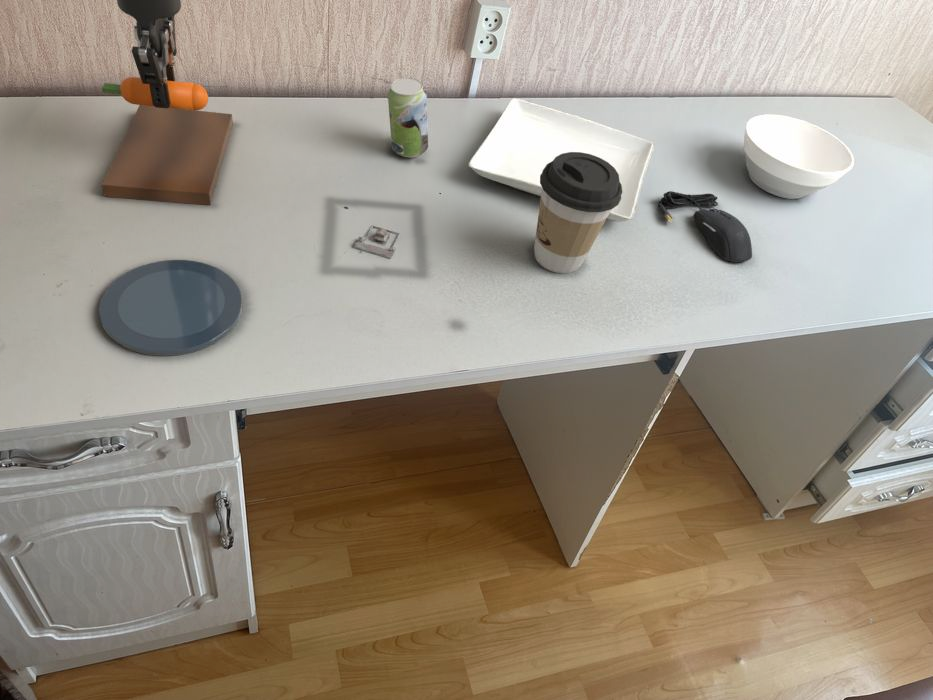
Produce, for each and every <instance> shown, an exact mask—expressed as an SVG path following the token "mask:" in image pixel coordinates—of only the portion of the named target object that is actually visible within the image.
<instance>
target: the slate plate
mask: <svg viewBox="0 0 933 700" xmlns="http://www.w3.org/2000/svg"><path fill="white" fill-rule="evenodd" d="M242 312H243V296H242V293H241V289H240V288H239V286H238V284H237V282H236V281H234V279H233V278H232V277H231V276H230V275H229V274H227V273H226V272H225V271H224V270H221V269H219V268H218V267H216V266H213V265H210V264H208V263H204V262H201V261H196V260H188V259H187V260H186V259H168V260H159V261H154V262H149V263H147V264H146V263H145V264H143V265H141V266H138V267H135V268H133V269H131V270H129V271H126V272H125V273H124V274H122V275H120V276H119V277H118V278H116V279H115V280H114V281H112V283H110V285H109V286H107V289H105V291H104V292H103V294H102V296H101V299H100V302H99V308H98V315H99V319H100V322H101V325H102V328H103V331H104V332H105V333H106V335H108V336H109V338H110V339H112V341H114V342H115V343H116V344H118V345H119V346H121V347H123V348H125V349H127V350H130V351H132V352H135V353H138V354H143V355H148V356H155V357H157V356H158V357H173V356H181V355H186V354H190V353H195V352H198V351H201V350H203V349H207V348H208V347H210V346H212V345H214V344H216V343H218V342H219V341H221V340H222V339H223V338H225V337H226V336H227V335H229V334H230V332H231V331H232V330H234V329H235V327H236V326H237V324H238V322H239V321H240V318H241V315H242Z"/></svg>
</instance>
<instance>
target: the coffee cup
mask: <svg viewBox="0 0 933 700" xmlns="http://www.w3.org/2000/svg"><path fill="white" fill-rule="evenodd" d="M540 184H541V186H542V193H541V197H540V201H539V207H538V208H539V209H538V216H537V223H536V229H535V230H536V231H535V238H534V245H533V252H534V258H535V260H536V262H537V263H538V264H539V265H540V266H541V267H542V268H543V269H545V270H547V271H550V272H552V273H555V274H570V273H574V272H576V271H577V270H578V269H579V268H580V266H582V265H583V263H584V261H585V260H586V257H587V256H588V254H589V252H590V250H591V249H592V246H593V245H594V243H595V242H596V239H597V237H598V235H599V234H600V232H601V230H602V229H603V226H604V224H605V223H606V220H607V219H608V218H607V217H608V215H609V213H610V211H611V210H612V209H613V208H614V207H616V206H617V205H618V204H619V202H620V200H621V195H622V185H621V183H620V180H619V174H618V173H617V171H616V169H615V168H614V167H613V166H612V165H610V164H609V163H608V162H606V161H605V160H603V159H601V158H599V157H597V156H594V155H591V154H587V153H582V152H568V153H563V154H560V155H558V156H557V157H555V159H554V160H553V161H552V162H550V163H548V164H547V165H546V166H545V168H544V169H543V171H542V174H541V175H540Z"/></svg>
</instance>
